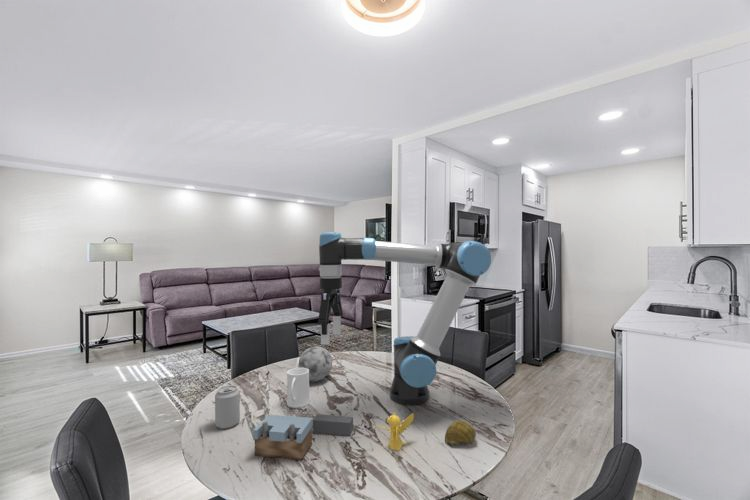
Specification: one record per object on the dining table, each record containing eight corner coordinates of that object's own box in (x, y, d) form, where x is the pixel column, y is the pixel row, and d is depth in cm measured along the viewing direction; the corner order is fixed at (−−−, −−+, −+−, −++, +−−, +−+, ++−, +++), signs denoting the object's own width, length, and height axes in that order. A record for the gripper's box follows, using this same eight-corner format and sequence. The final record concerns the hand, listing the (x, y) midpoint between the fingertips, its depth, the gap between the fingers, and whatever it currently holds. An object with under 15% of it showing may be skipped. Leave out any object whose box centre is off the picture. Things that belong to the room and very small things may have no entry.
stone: (291, 381, 149) (290, 347, 149) (318, 371, 161) (318, 340, 161) (313, 390, 139) (312, 353, 139) (340, 379, 151) (340, 345, 151)
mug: (300, 413, 120) (300, 379, 120) (278, 411, 121) (278, 377, 121) (313, 398, 131) (313, 367, 131) (292, 397, 133) (292, 366, 133)
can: (215, 432, 107) (215, 394, 107) (214, 422, 114) (214, 386, 114) (241, 426, 111) (240, 389, 111) (238, 416, 117) (238, 382, 118)
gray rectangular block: (353, 429, 108) (353, 416, 108) (350, 435, 104) (350, 422, 104) (317, 426, 110) (317, 414, 110) (312, 432, 106) (312, 420, 106)
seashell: (452, 460, 98) (463, 449, 93) (435, 438, 102) (445, 425, 97) (472, 442, 104) (484, 430, 99) (456, 422, 108) (466, 409, 103)
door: (312, 426, 101) (312, 417, 101) (300, 443, 92) (300, 433, 92) (268, 422, 103) (268, 414, 103) (253, 438, 94) (253, 429, 94)
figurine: (380, 428, 108) (379, 401, 108) (414, 438, 102) (414, 409, 102) (360, 447, 98) (359, 417, 98) (397, 459, 92) (396, 427, 92)
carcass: (312, 444, 100) (311, 414, 100) (301, 460, 92) (301, 427, 92) (267, 440, 102) (267, 410, 102) (254, 456, 95) (253, 423, 95)
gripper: (331, 274, 130) (331, 330, 130) (307, 280, 105) (307, 348, 105) (350, 274, 129) (350, 330, 128) (330, 280, 104) (331, 349, 104)
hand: (331, 339), depth 117 cm, fingers open, 13 cm apart
